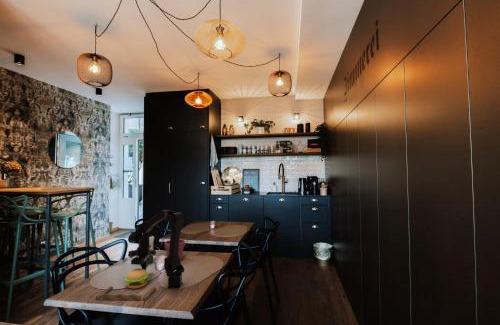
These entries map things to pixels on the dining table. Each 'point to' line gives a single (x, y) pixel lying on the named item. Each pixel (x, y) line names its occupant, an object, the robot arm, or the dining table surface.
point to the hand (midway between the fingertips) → (144, 271)
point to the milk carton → (151, 249)
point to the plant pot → (181, 246)
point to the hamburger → (136, 278)
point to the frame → (123, 295)
